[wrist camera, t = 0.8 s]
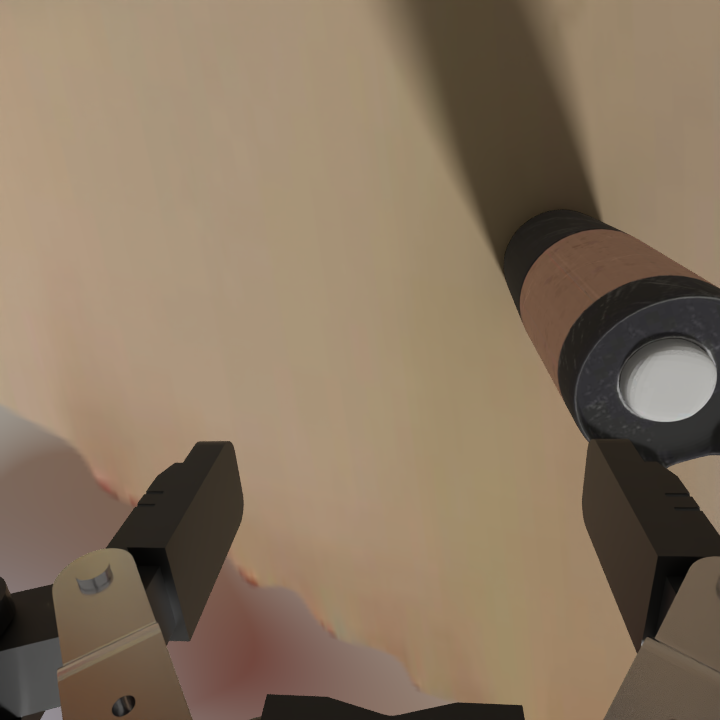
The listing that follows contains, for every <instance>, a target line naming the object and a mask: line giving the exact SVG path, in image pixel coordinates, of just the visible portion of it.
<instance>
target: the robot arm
mask: <svg viewBox="0 0 720 720" xmlns="http://www.w3.org/2000/svg"><path fill="white" fill-rule="evenodd" d="M243 505H244V503H243V493H242V487H241V482H240V476H239V471H238V466H237V460H236V455H235V450H234V446H233V444H232V443H231V442H230V441H203V442H197V443H196V444H195V446H194V447H193V449H192V450H191V452H190V453H189V455H188V456H187V458H186V459H185V461H184V462H183V463H174V464H173V465H172V466H170V467H169V468H168V469H166V470H165V471H163V472H162V473H161V474H159V475H158V476H157V477H156V478H155V480H154V481H153V483H152V484H151V485H150V487H149V488H148V490H147V491H146V494H144V495H143V497H142V498H141V500H140V501H139V502H138V506H137V507H135V508H134V509H133V511H132V512H131V514H130V515H129V516H128V518H127V519H126V521H125V522H124V523H123V525H122V526H121V528H120V529H119V531H118V532H117V533H116V535H115V536H114V537H113V539H112V540H111V542H110V543H109V545H108V546H107V547H106V549H101V550H97V551H94V552H91V553H88V554H86V555H84V556H82V557H80V558H78V559H76V560H75V561H73V562H72V563H70V564H69V565H68V566H67V567H65V568H64V569H63V570H62V571H61V573H60V574H59V575H58V577H57V578H56V579H55V581H54V584H52V585H48V586H43V587H39V588H34V589H30V590H25V591H21V592H16V593H12V594H10V592H9V590H8V587H7V585H6V583H5V581H4V579H3V578H1V577H0V720H40V719H41V717H42V715H43V714H44V712H45V710H49V709H52V708H56V707H60V706H61V711H62V717H63V720H193V719H192V717H191V714H190V711H189V708H188V705H187V702H186V700H185V697H184V694H183V691H182V688H181V685H180V683H179V680H178V677H177V675H176V671H175V669H174V666H173V663H172V660H171V658H170V655H169V652H168V649H167V644H168V642H169V641H190V640H191V637H192V635H193V633H194V630H195V628H196V626H197V623H198V621H199V619H200V616H201V614H202V612H203V609H204V607H205V605H206V602H207V600H208V598H209V595H210V593H211V591H212V589H213V586H214V584H215V581H216V579H217V577H218V574H219V572H220V570H221V568H222V565H223V563H224V561H225V558H226V556H227V554H228V551H229V549H230V547H231V544H232V542H233V540H234V537H235V535H236V533H237V530H238V528H239V526H240V523H241V520H242V515H243ZM582 510H583V518H584V522H585V526H586V529H587V531H588V534H589V536H590V538H591V541H592V543H593V546H594V548H595V551H596V553H597V556H598V558H599V561H600V563H601V566H602V568H603V571H604V573H605V575H606V578H607V580H608V583H609V585H610V588H611V590H612V593H613V595H614V598H615V600H616V603H617V605H618V607H619V610H620V612H621V615H622V617H623V620H624V622H625V625H626V627H627V630H628V632H629V635H630V637H631V640H632V642H633V644H634V647H635V649H636V652H637V656H636V658H635V659H634V661H633V663H632V665H631V667H630V669H629V671H628V673H627V675H626V677H625V679H624V681H623V683H622V685H621V687H620V689H619V690H618V692H617V694H616V696H615V698H614V700H613V702H612V704H611V706H610V708H609V710H608V712H607V714H606V716H605V718H604V720H720V535H719V534H718V532H717V531H716V530H715V528H714V527H713V525H712V524H711V523H710V521H709V520H708V518H707V517H706V516H705V514H704V513H703V511H700V507H699V506H698V504H697V503H696V502H695V500H694V499H693V497H690V493H689V492H688V490H687V489H686V488H685V486H684V485H683V483H682V482H681V481H680V479H679V478H678V476H676V475H675V474H673V473H672V472H671V471H669V470H668V469H666V468H665V467H663V466H662V465H661V464H659V463H658V462H644V461H643V459H642V458H641V456H640V455H639V453H638V452H637V450H636V449H635V447H634V445H633V444H632V442H631V441H630V440H629V439H591V440H590V442H589V444H588V450H587V458H586V468H585V477H584V486H583V495H582ZM250 720H525V718H524V713H523V707H522V705H503V704H480V703H452V704H448V705H444V706H438V707H434V708H429V709H424V710H420V711H415V712H411V713H406V714H401V715H396V716H388V715H383V714H380V713H377V712H374V711H371V710H367V709H364V708H361V707H358V706H355V705H352V704H348V703H345V702H342V701H339V700H335V699H332V698H329V697H318V696H317V697H315V696H294V695H271V694H270V695H269V694H267V697H266V700H265V705H264V708H263V712H262V716H261V717H256V718H253V719H250Z"/></svg>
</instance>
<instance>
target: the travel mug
mask: <svg viewBox="0 0 720 720" xmlns="http://www.w3.org/2000/svg"><path fill="white" fill-rule="evenodd" d="M504 275H505V279H506V282H507V285H508V288H509V290H510V293H511V295H512V298H513V300H514V303H515V305H516V308H517V310H518V313H519V315H520V318H521V320H522V322H523V325H524V327H525V329H526V331H527V333H528V335H529V337H530V339H531V341H532V343H533V344H534V346H535V348H536V350H537V352H538V354H539V356H540V358H541V359H542V361H543V363H544V365H545V367H546V369H547V371H548V372H549V374H550V376H551V378H552V380H553V382H554V384H555V385H556V387H557V389H558V391H559V393H560V395H561V397H562V398H563V400H564V402H565V404H566V406H567V408H568V410H569V412H570V413H571V415H572V417H573V419H574V421H575V423H576V425H577V426H578V428H579V430H580V431H581V433H582V434H583V436H584V437H585V438H586V440H587V441H588V442H590V440H591V439H629V440H630V441H631V442H632V444H633V445H634V447H635V449H636V450H637V452H638V453H639V455H640V456H641V458H642V459H643V461H644V462H658V463H659V464H661V465H662V466H663V467H665V468H666V469H667V468H668V467H670V466H671V465H674V464H677V463H681V462H684V461H688V460H691V459H695V458H699V457H704V456H708V455H720V288H718V287H716V286H715V285H713V284H711V283H710V282H708V281H706V280H705V279H703V278H701V277H700V276H698V275H696V274H695V273H693V272H691V271H690V270H688V269H687V268H685V267H683V266H682V265H680V264H678V263H677V262H675V261H673V260H672V259H670V258H668V257H667V256H665V255H663V254H662V253H660V252H658V251H657V250H655V249H653V248H652V247H650V246H648V245H647V244H645V243H643V242H642V241H640V240H638V239H636V238H635V237H633V236H631V235H629V234H627V233H625V232H622V231H620V230H618V229H616V228H614V227H612V226H609V225H607V224H605V223H603V222H601V221H599V220H596V219H594V218H592V217H590V216H588V215H585V214H582V213H579V212H576V211H571V210H553V211H548V212H545V213H542V214H540V215H537V216H535V217H534V218H532V219H530V220H529V221H527V222H526V223H525V224H524V225H522V226H521V227H520V228H519V229H518V230H517V232H516V233H515V234H514V236H513V237H512V239H511V240H510V242H509V244H508V247H507V249H506V253H505V257H504Z"/></svg>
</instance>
